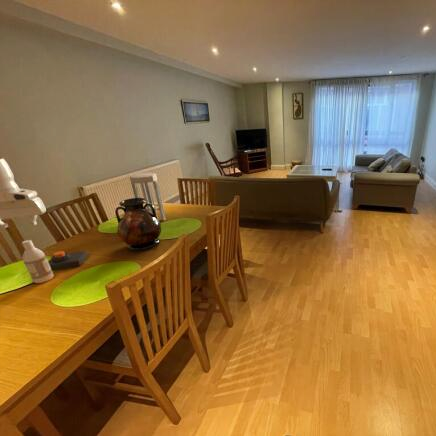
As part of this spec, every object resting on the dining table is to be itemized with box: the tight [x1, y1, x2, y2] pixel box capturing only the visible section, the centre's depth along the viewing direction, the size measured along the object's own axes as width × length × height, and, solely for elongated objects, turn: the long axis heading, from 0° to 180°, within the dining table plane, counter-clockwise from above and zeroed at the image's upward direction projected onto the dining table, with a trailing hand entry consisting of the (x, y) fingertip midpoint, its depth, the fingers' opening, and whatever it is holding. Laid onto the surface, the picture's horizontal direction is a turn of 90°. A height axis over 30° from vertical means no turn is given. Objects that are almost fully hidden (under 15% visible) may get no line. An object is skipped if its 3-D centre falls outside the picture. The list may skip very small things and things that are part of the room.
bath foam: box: [21, 239, 55, 284], centre depth 109 cm, size 7×7×20 cm
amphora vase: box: [114, 197, 162, 252], centre depth 138 cm, size 22×22×28 cm
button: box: [53, 250, 65, 258], centre depth 122 cm, size 4×4×2 cm
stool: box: [129, 172, 167, 221], centre depth 169 cm, size 16×16×35 cm
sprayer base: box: [47, 250, 89, 271], centre depth 124 cm, size 14×11×5 cm
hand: (19, 226), depth 102 cm, fingers open, 8 cm apart
